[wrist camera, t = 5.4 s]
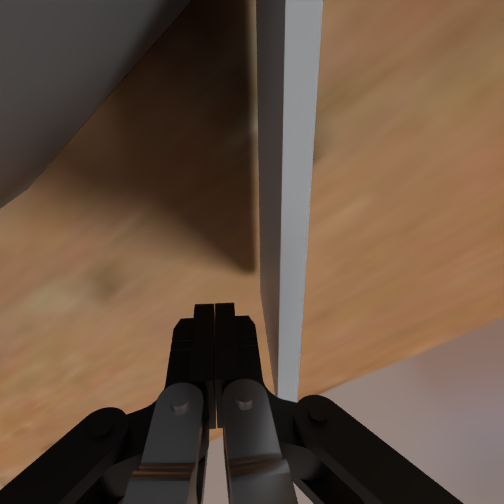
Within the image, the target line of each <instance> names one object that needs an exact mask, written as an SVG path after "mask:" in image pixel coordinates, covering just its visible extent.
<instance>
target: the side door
mask: <svg viewBox="0 0 504 504" xmlns="http://www.w3.org/2000/svg"><path fill="white" fill-rule="evenodd" d="M322 7H323V0H256V30H257V96H258V161H259V227H260V293H261V300H262V307H263V314H264V321H265V328H266V335H267V342H268V348H269V355H270V362H271V369H272V376H273V383H274V390H275V396H276V397H279V398H281V399H284V400H288V401H292V402H297V397H298V381H299V366H300V353H301V338H302V319H303V303H304V288H305V272H306V257H307V241H308V225H309V210H310V194H311V179H312V163H313V147H314V132H315V116H316V101H317V85H318V69H319V54H320V38H321V23H322Z"/></svg>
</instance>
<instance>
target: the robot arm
mask: <svg viewBox="0 0 504 504" xmlns="http://www.w3.org/2000/svg"><path fill="white" fill-rule="evenodd" d="M216 409H217V427H218V428H223V441H224V459H225V469H226V479H227V490H228V500H229V504H298V501H297V497H296V493H295V489H294V485H293V482H294V483H295V484H296V485H297V486H298V488H299V489H300V490H301V491H302V492H303V493H304V494H305V495H306V496H307V497H308V498H309V499H310V500H311V501H312V502H313V503H314V504H463V503H462V502H461V501H459V500H458V499H457V498H456V497H454V496H453V495H452V494H450V493H449V492H448V491H447V490H445V489H444V488H443V487H442V486H440V485H439V484H438V483H436V482H435V481H434V480H433V479H431V478H430V477H429V476H427V475H426V474H425V473H424V472H422V471H421V470H420V469H419V468H417V467H416V466H415V465H413V464H412V463H411V462H409V461H408V460H407V459H406V458H404V457H403V456H402V455H401V454H399V453H398V452H397V451H395V450H394V449H393V448H392V447H390V446H389V445H388V444H386V443H385V442H384V441H382V440H381V439H380V438H379V437H378V436H376V435H375V434H374V433H372V432H371V431H370V430H369V429H367V428H366V427H365V426H363V425H362V424H361V423H360V422H358V421H357V420H356V419H354V418H353V417H352V416H351V415H349V414H348V413H347V412H345V411H344V410H343V409H342V408H340V407H339V406H338V405H337V404H335V403H334V402H333V401H331V400H330V399H328V398H326V397H323V396H320V395H309V396H306V397H304V398H302V399H301V400H299V401H298V403H297V402H292V401H288V400H284V399H281V398H279V397H276V396H275V395H273V394H272V393H271V392H270V391H269V390H268V389H267V388H266V386H265V384H264V382H263V378H262V370H261V363H260V356H259V349H258V342H257V335H256V328H255V324H254V323H253V321H252V320H251V319H250V317H249V316H235V309H234V303H215V312H214V304H195V307H194V318H185V319H180V321H179V322H178V323H177V325H176V326H175V328H174V330H173V337H172V344H171V351H170V357H169V364H168V370H167V377H166V383H165V388H164V390H163V391H162V392H161V394H160V395H159V397H158V399H157V400H156V401H155V402H154V403H152V404H151V405H149V406H148V407H146V408H144V409H141V410H138V411H135V412H133V413H130V414H127V415H126V414H125V413H124V412H123V411H122V410H120V409H118V408H113V407H107V408H102V409H99V410H97V411H94V412H93V413H91V414H90V415H88V416H87V417H86V418H85V419H83V420H82V421H81V422H80V423H79V424H77V425H76V426H75V427H74V428H73V429H72V430H70V431H69V432H68V433H67V434H66V435H65V436H63V437H62V438H61V439H60V440H59V441H58V442H56V443H55V444H54V445H53V446H52V447H50V448H49V449H48V450H47V451H46V452H45V453H43V454H42V455H41V456H40V457H39V458H38V459H36V460H35V461H34V462H33V463H32V464H31V465H29V466H28V467H27V468H26V469H25V470H24V471H22V472H21V473H20V474H19V475H18V476H16V477H15V478H14V479H13V480H12V481H11V482H9V483H8V484H7V485H6V486H5V487H4V488H2V489H1V490H0V504H203V497H204V487H205V477H206V466H207V455H208V447H209V429H216Z"/></svg>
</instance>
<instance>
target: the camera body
mask: <svg viewBox="0 0 504 504" xmlns="http://www.w3.org/2000/svg"><path fill="white" fill-rule="evenodd" d="M190 1H191V0H0V208H2V207H3V206H5V205H6V204H7V203H9V202H10V201H11V200H13V199H14V198H16V197H17V196H18V195H20V194H21V193H22V192H24V191H25V190H27V189H28V188H29V186H30V185H31V184H32V183H33V182H34V181H35V180H36V178H37V177H38V176H39V175H40V174H41V173H42V172H43V170H44V169H45V168H46V167H47V166H48V165H49V163H50V162H51V161H52V160H53V159H54V158H55V157H56V155H57V154H58V153H59V152H60V151H61V150H62V149H63V147H64V146H65V145H66V144H67V143H68V142H69V141H70V139H71V138H72V137H73V136H74V135H75V134H76V132H77V131H78V130H79V129H80V128H81V127H82V126H83V124H84V123H85V122H86V121H87V120H88V119H89V118H90V116H91V115H92V114H93V113H94V112H95V111H96V109H97V108H98V107H99V106H100V105H101V104H102V103H103V101H104V100H105V99H106V98H107V97H108V96H109V95H110V93H111V92H112V91H113V90H114V89H115V88H116V87H117V85H118V84H119V83H120V82H121V81H122V80H123V78H124V77H125V76H126V75H127V74H128V73H129V72H130V70H131V69H132V68H133V67H134V66H135V65H136V64H137V62H138V61H139V60H140V59H141V58H142V57H143V55H144V54H145V53H146V52H147V51H148V50H149V49H150V47H151V46H152V45H153V44H154V43H155V42H156V41H157V39H158V38H159V37H160V36H161V35H162V34H163V33H164V31H165V30H166V29H167V28H168V27H169V26H170V24H171V23H172V22H173V21H174V20H175V19H176V18H177V16H178V15H179V14H180V13H181V12H182V11H183V10H184V8H185V7H186V6H187V5H188V4H189V3H190Z"/></svg>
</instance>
